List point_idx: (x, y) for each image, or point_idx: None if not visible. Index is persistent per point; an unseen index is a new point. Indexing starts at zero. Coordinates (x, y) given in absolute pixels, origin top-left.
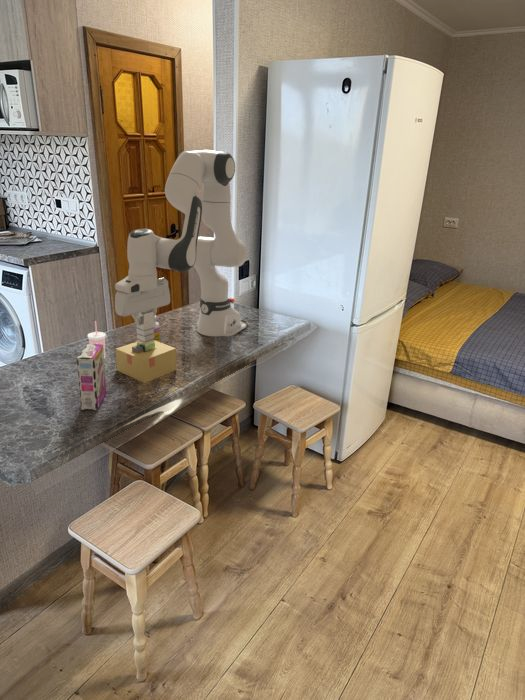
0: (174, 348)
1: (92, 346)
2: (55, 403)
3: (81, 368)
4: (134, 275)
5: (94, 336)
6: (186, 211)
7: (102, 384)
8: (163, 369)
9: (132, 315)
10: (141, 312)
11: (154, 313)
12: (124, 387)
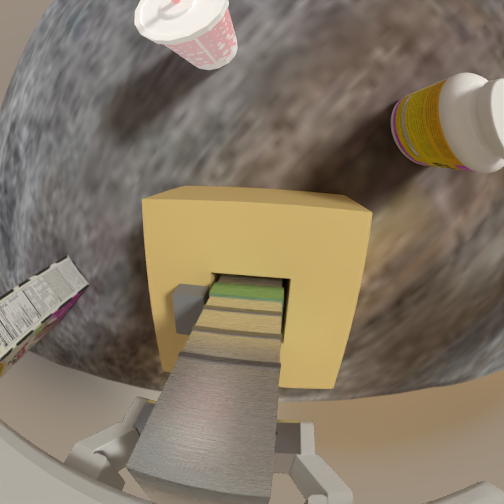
0: (329, 386)
1: None
2: (19, 235)
3: None
4: None
5: (158, 14)
6: None
7: (53, 322)
8: None
9: (82, 450)
10: (162, 496)
11: (302, 494)
12: (135, 296)
